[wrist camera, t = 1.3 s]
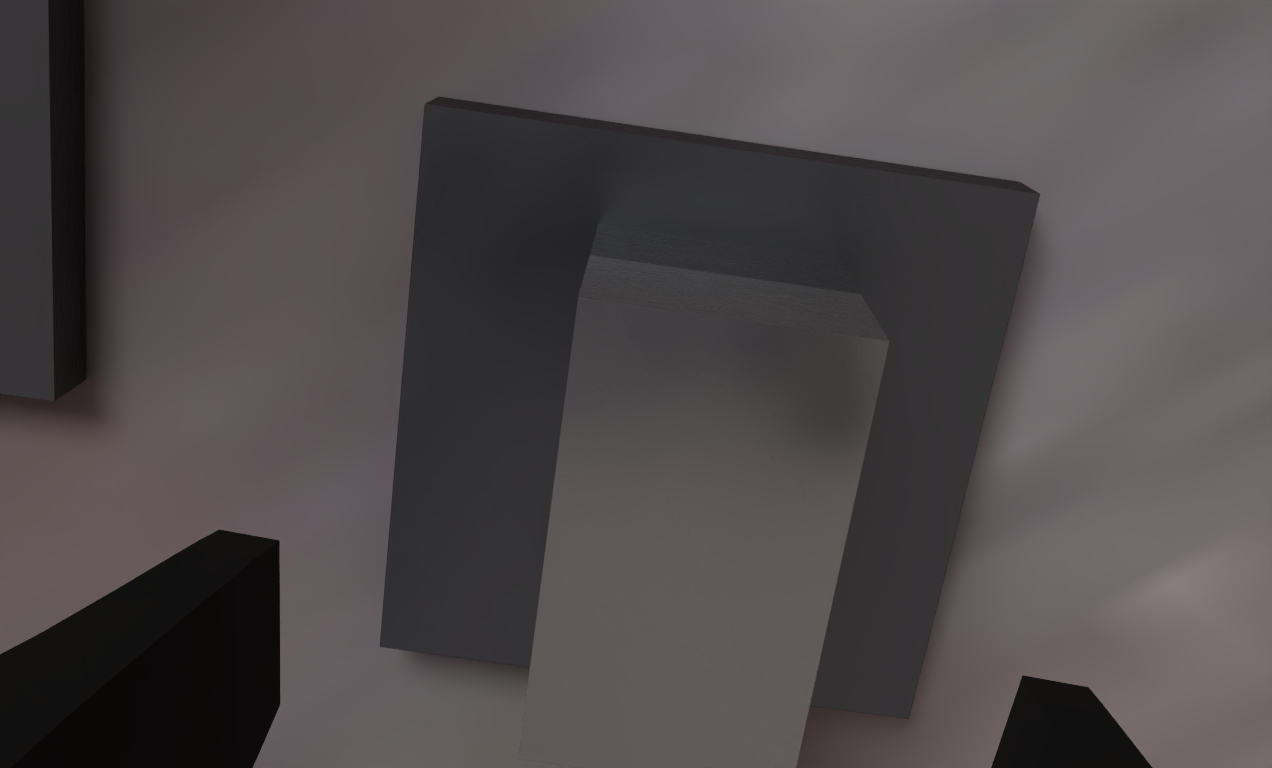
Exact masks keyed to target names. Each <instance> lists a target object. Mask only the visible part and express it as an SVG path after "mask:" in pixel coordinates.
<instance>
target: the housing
mask: <svg viewBox="0 0 1272 768" xmlns="http://www.w3.org/2000/svg"><path fill="white" fill-rule="evenodd" d="M888 346H889V340H888V338H887V336H886V335H885V333H884V331H883V330H882V328H881V326H880V325H879V323H878V322H877V320H876V318H875V317H874V315H873V313H872V312H871V310H870V308H869V307H868V305H867V303H866V302H865V300H864V298H863V297H862V295H861V293H860V292H859V290H858V288H857V287H856V285H855V283H854V282H853V280H852V278H851V277H850V275H849V273H848V272H847V270H846V269H845V267H844V265H843V264H842V262H841V260H840V259H839V258H838V257H831V256H824V255H817V254H810V253H803V252H796V251H790V250H783V249H776V248H769V247H762V246H755V245H748V244H741V243H734V242H727V241H721V240H714V239H707V238H700V237H693V236H686V235H679V234H672V233H665V232H658V231H651V230H645V229H638V228H631V227H624V226H617V225H610V224H603V223H599V224H598V227H597V231H596V234H595V238H594V242H593V245H592V249H591V252H590V256H589V260H588V263H587V267H586V270H585V274H584V278H583V281H582V285H581V288H580V292H579V296H578V302H577V310H576V317H575V325H574V333H573V341H572V348H571V356H570V364H569V371H568V379H567V387H566V394H565V402H564V410H563V418H562V425H561V433H560V441H559V448H558V456H557V464H556V471H555V479H554V487H553V494H552V502H551V510H550V518H549V525H548V533H547V541H546V548H545V556H544V564H543V571H542V579H541V587H540V595H539V602H538V610H537V618H536V625H535V633H534V641H533V648H532V656H531V664H530V672H529V679H528V687H527V695H526V702H525V710H524V718H523V725H522V733H521V741H520V748H519V756H518V759H519V760H527V761H534V762H541V763H549V764H556V765H564V766H571V767H578V768H796V766H797V762H798V757H799V753H800V748H801V743H802V739H803V734H804V730H805V725H806V721H807V716H808V711H809V707H810V702H811V698H812V693H813V689H814V684H815V679H816V675H817V670H818V666H819V661H820V657H821V652H822V647H823V643H824V638H825V634H826V629H827V625H828V620H829V615H830V611H831V606H832V602H833V597H834V593H835V588H836V583H837V579H838V574H839V570H840V565H841V561H842V556H843V551H844V547H845V542H846V538H847V533H848V529H849V524H850V519H851V515H852V510H853V506H854V501H855V497H856V492H857V487H858V483H859V478H860V474H861V469H862V465H863V460H864V455H865V451H866V446H867V442H868V437H869V433H870V428H871V423H872V419H873V414H874V410H875V405H876V401H877V396H878V391H879V387H880V382H881V378H882V373H883V369H884V364H885V359H886V355H887V350H888Z"/></svg>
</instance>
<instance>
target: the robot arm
mask: <svg viewBox="0 0 1272 768" xmlns="http://www.w3.org/2000/svg"><path fill="white" fill-rule="evenodd" d="M279 706H280V574H279V540H273V539H268V538H262V537H257V536H251V535H246V534H240V533H235V532H229V531H224V530H218V531H216V532H214V533H212V534H210V535H208V536H207V537H205V538H203V539H201V540H199V541H197V542H196V543H194V544H192V545H190V546H189V547H187V548H185V549H184V550H182V551H180V552H178V553H177V554H175V555H173V556H172V557H170V558H168V559H167V560H165V561H163V562H162V563H160V564H158V565H157V566H155V567H153V568H152V569H150V570H148V571H147V572H145V573H143V574H142V575H140V576H138V577H136V578H135V579H133V580H131V581H130V582H128V583H126V584H125V585H123V586H121V587H120V588H118V589H116V590H115V591H113V592H111V593H109V594H108V595H106V596H104V597H102V598H101V599H99V600H97V601H96V602H94V603H92V604H90V605H89V606H87V607H85V608H83V609H82V610H80V611H78V612H77V613H75V614H73V615H71V616H70V617H68V618H66V619H64V620H63V621H61V622H59V623H57V624H56V625H54V626H52V627H51V628H49V629H47V630H45V631H44V632H42V633H40V634H38V635H36V636H34V637H33V638H31V639H29V640H27V641H25V642H23V643H21V644H19V645H17V646H15V647H13V648H12V649H10V650H8V651H6V652H4V653H2V654H0V768H252V767H253V765H254V763H255V761H256V759H257V757H258V754H259V752H260V750H261V748H262V745H263V743H264V741H265V738H266V736H267V734H268V731H269V729H270V727H271V724H272V722H273V720H274V717H275V715H276V713H277V710H278V708H279ZM991 768H1152V767H1151V765H1150V764H1149V763H1148V762H1147V760H1146V759H1145V758H1144V756H1143V755H1142V754H1141V753H1140V751H1139V750H1138V749H1137V748H1136V746H1135V745H1134V744H1133V742H1132V741H1131V740H1130V739H1129V737H1128V736H1127V735H1126V733H1125V732H1124V731H1123V730H1122V728H1121V727H1120V726H1119V724H1118V723H1117V722H1116V721H1115V719H1114V718H1113V717H1112V716H1111V714H1110V713H1109V712H1108V711H1107V709H1106V708H1105V707H1104V706H1103V704H1102V703H1101V702H1100V701H1099V699H1098V698H1097V697H1096V696H1095V695H1094V693H1093V692H1092V691H1091V690H1090V689H1089V688H1088V687H1083V686H1078V685H1072V684H1067V683H1061V682H1056V681H1050V680H1045V679H1039V678H1034V677H1028V676H1022V679H1021V682H1020V685H1019V688H1018V691H1017V694H1016V697H1015V700H1014V703H1013V706H1012V708H1011V711H1010V714H1009V717H1008V720H1007V723H1006V726H1005V729H1004V732H1003V735H1002V738H1001V741H1000V744H999V747H998V750H997V753H996V756H995V759H994V761H993V764H992V767H991Z"/></svg>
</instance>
